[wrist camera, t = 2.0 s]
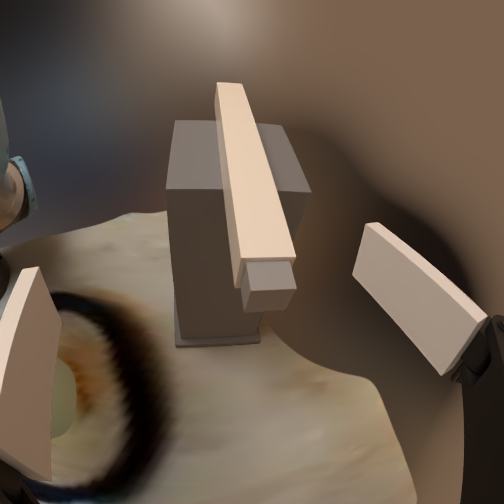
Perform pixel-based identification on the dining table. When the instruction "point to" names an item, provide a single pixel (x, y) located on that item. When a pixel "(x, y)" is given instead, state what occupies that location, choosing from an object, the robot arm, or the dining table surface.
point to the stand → (217, 232)
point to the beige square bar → (252, 208)
